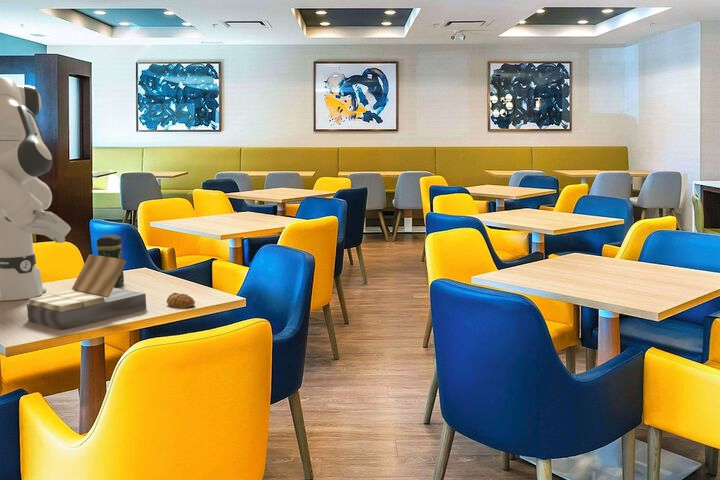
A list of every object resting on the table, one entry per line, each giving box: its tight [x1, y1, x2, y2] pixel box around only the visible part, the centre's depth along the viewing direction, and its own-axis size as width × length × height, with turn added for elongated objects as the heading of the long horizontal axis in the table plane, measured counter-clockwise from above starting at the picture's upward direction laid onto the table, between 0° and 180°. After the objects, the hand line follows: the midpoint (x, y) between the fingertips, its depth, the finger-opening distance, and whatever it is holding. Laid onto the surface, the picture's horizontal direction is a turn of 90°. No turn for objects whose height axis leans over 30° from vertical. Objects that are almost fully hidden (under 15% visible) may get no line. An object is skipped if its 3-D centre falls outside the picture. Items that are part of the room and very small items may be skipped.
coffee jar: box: [96, 234, 125, 288], centre depth 250 cm, size 10×8×19 cm
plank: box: [71, 253, 127, 298], centre depth 210 cm, size 17×12×2 cm
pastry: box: [166, 292, 196, 309], centre depth 219 cm, size 9×7×4 cm
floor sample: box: [26, 287, 147, 331], centre depth 208 cm, size 18×28×7 cm, turn 144°
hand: (61, 241), depth 200 cm, fingers closed
